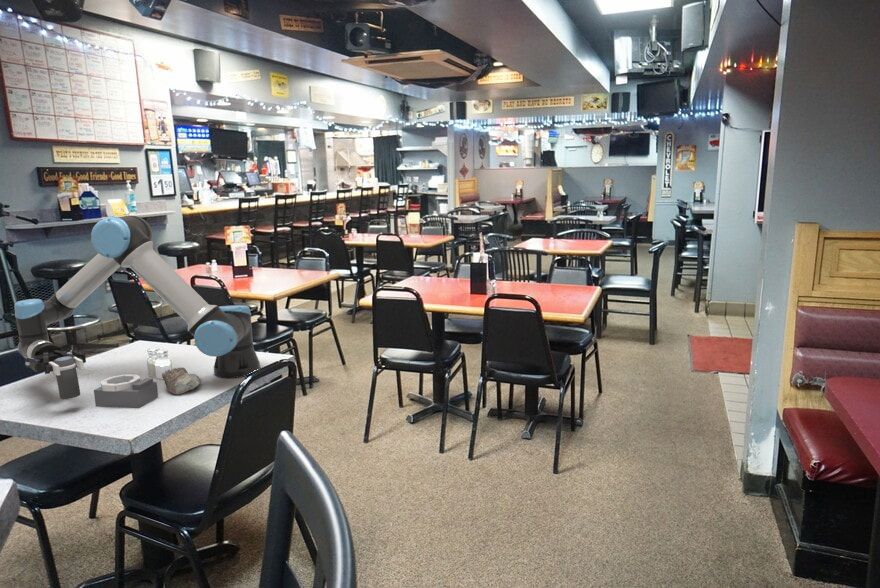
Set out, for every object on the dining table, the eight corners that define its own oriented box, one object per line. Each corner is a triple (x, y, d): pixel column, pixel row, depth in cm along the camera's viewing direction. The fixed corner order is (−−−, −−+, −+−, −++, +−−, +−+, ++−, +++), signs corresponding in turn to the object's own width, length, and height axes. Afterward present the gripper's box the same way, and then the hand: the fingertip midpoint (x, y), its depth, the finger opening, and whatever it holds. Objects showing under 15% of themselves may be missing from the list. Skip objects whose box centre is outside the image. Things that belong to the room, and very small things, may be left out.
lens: (85, 392, 170) (78, 355, 167) (71, 399, 165) (64, 361, 162) (69, 392, 170) (62, 355, 168) (55, 399, 165) (48, 361, 163)
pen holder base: (159, 396, 178) (156, 375, 177) (138, 408, 169) (135, 386, 167) (117, 394, 180) (115, 373, 179) (94, 406, 171) (91, 384, 169)
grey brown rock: (207, 383, 181) (185, 358, 178) (181, 404, 177) (158, 379, 174) (199, 379, 194) (179, 356, 191) (175, 398, 190) (154, 375, 187)
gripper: (80, 358, 185) (107, 372, 170) (11, 373, 172) (34, 389, 157) (76, 335, 184) (103, 347, 168) (7, 349, 170) (29, 363, 155)
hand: (70, 367), depth 163 cm, fingers closed on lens, 5 cm apart
